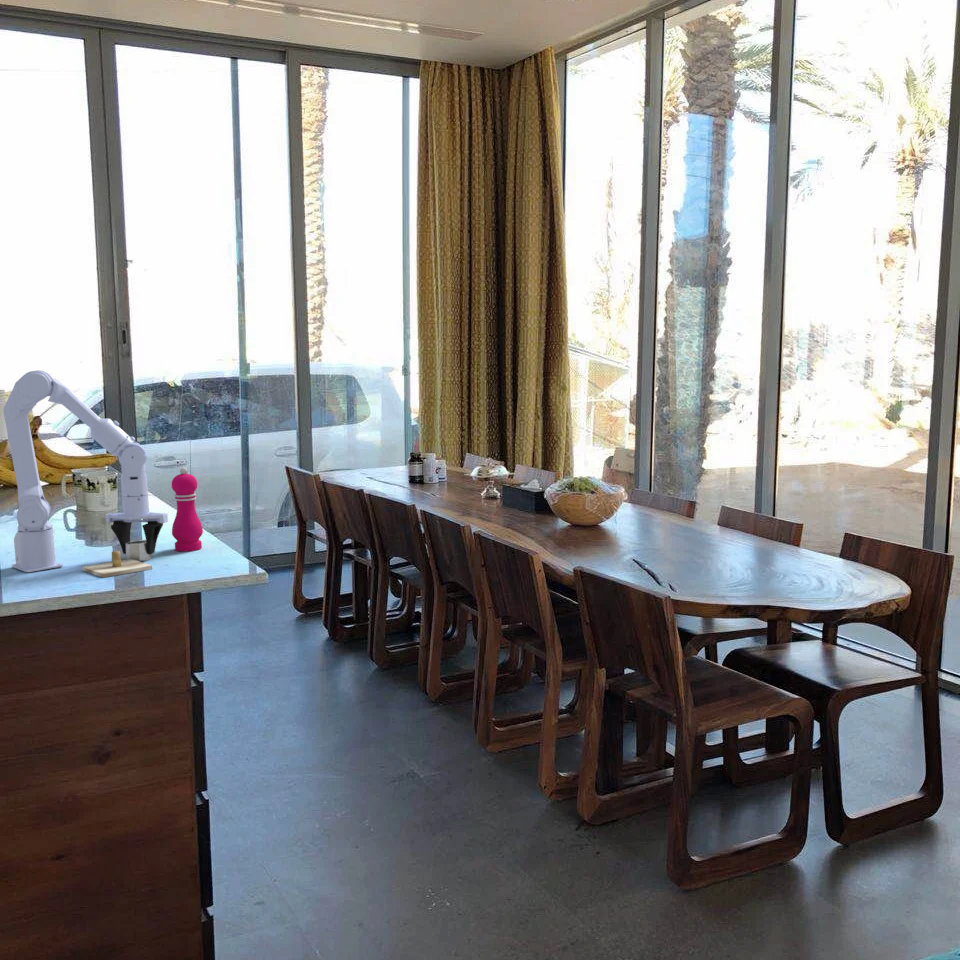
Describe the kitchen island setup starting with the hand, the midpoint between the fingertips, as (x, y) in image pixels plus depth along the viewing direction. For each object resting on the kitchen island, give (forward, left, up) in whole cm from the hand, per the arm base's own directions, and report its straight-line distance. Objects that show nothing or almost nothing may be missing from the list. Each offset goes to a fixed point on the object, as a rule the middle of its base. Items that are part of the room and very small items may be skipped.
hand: (138, 553), depth 229 cm
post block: (+7, -8, -1) cm, 11 cm away
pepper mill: (-2, +14, -2) cm, 14 cm away
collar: (0, 0, -1) cm, 1 cm away
